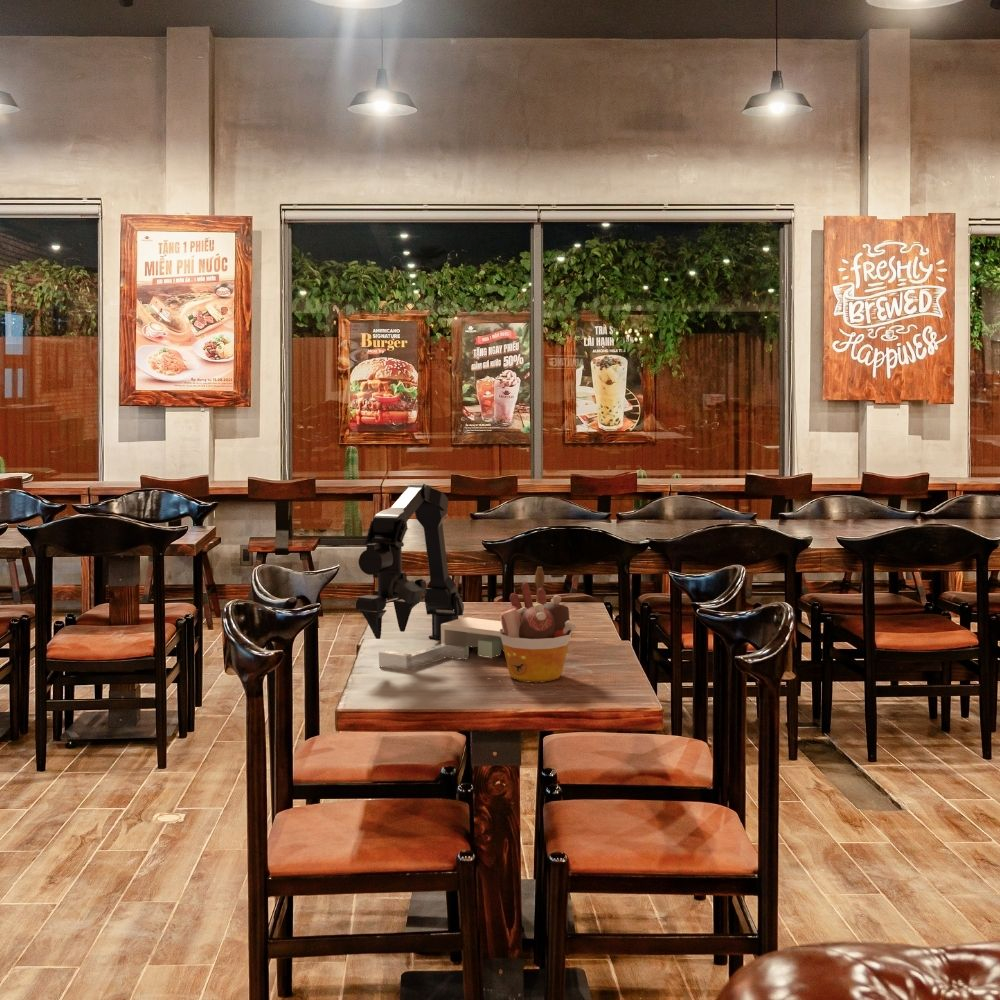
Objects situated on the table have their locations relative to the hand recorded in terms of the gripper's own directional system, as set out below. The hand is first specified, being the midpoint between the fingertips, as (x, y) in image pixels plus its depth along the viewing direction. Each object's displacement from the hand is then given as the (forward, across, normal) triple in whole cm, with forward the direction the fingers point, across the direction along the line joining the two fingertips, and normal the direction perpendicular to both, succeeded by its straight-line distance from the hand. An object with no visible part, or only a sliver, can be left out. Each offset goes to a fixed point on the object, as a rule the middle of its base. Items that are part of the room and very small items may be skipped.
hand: (390, 635), depth 266 cm
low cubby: (+8, +23, -12) cm, 27 cm away
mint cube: (+8, +22, -13) cm, 27 cm away
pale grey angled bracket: (+8, +8, -4) cm, 12 cm away
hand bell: (+8, +61, -4) cm, 62 cm away
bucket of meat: (+8, +9, -33) cm, 35 cm away
